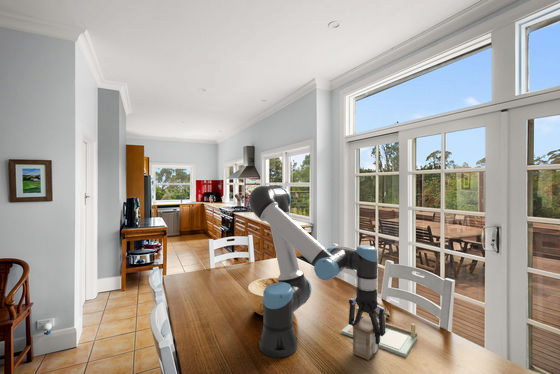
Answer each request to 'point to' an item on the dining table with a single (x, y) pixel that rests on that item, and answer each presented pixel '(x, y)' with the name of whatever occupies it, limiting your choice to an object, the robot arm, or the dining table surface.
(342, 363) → the dining table surface
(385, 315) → the stone
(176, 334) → the dining table surface
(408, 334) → the ledge board
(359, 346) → the frame block
